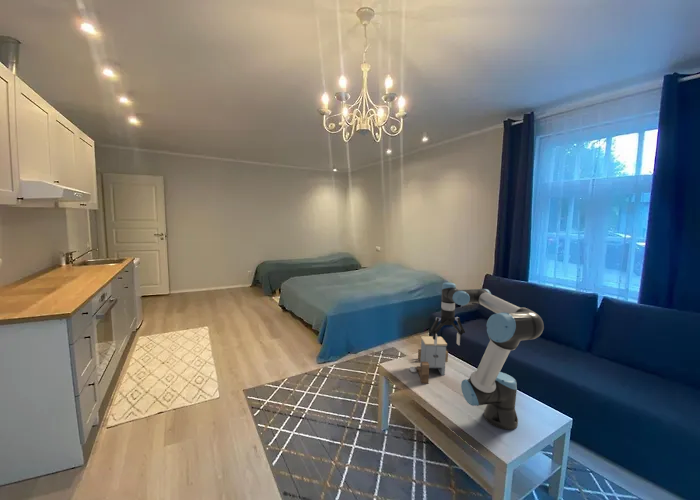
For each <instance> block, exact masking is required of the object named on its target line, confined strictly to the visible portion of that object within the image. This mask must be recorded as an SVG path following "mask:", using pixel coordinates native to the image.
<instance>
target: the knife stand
mask: <svg viewBox="0 0 700 500" xmlns="http://www.w3.org/2000/svg"><path fill="white" fill-rule="evenodd" d="M417 352H418V353H417V359H418V362H420V361H421V348H419V349H418V351H417ZM448 360H449V351H448V349H446V359H445V363H446V362H448Z"/></svg>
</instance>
